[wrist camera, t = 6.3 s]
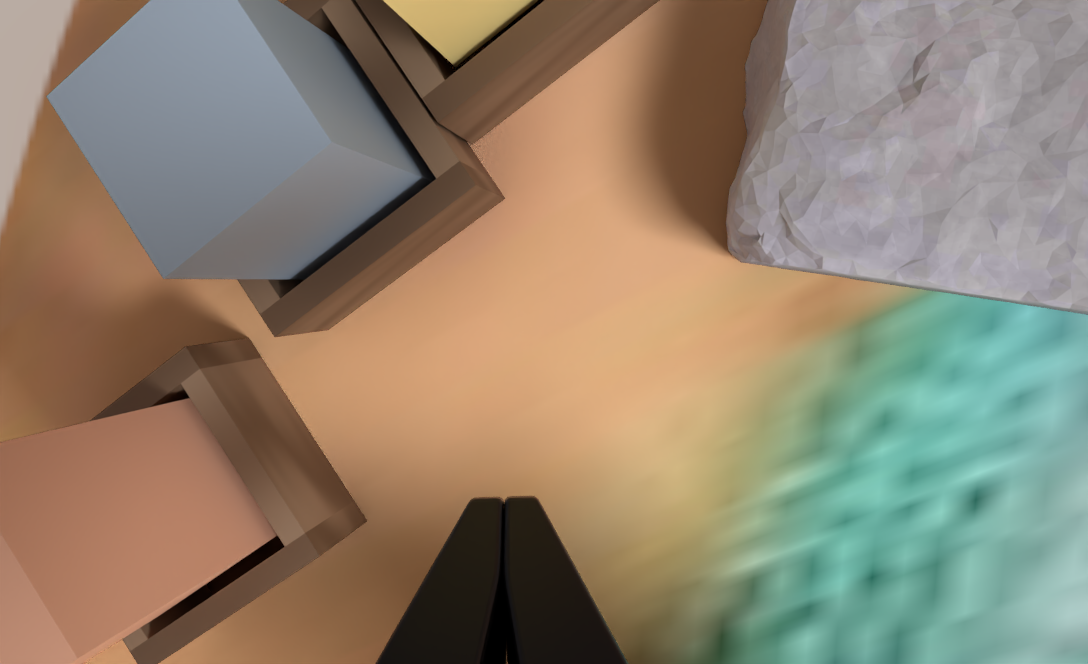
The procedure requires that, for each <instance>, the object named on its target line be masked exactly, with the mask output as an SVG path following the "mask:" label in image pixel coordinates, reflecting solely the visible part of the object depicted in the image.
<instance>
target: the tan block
mask: <svg viewBox="0 0 1088 664" xmlns="http://www.w3.org/2000/svg"><path fill="white" fill-rule="evenodd" d="M276 536H277V534H276V532H275V530H274V529H273V527H272V526H271V524H270V523H269V521H268V519H267V518H266V516H265V515H264V513H263V512H262V510H261V508H260V507H259V505H258V504H257V502H256V501H255V499H254V498H253V496H252V494H251V493H250V491H249V490H248V488H247V487H246V485H245V483H244V482H243V480H242V479H241V477H240V476H239V474H238V472H237V471H236V469H235V468H234V466H233V465H232V463H231V461H230V460H229V458H228V457H227V455H226V454H225V452H224V450H223V449H222V447H221V446H220V444H219V443H218V441H217V439H216V438H215V436H214V435H213V433H212V432H211V430H210V428H209V427H208V425H207V424H206V422H205V421H204V419H203V418H202V416H201V414H200V413H199V411H198V410H197V408H196V407H195V405H194V403H193V402H192V400H191V399H190V398H188V399H183V400H179V401H175V402H171V403H166V404H162V405H158V406H153V407H149V408H145V409H141V410H136V411H132V412H128V413H123V414H119V415H115V416H111V417H106V418H102V419H98V420H93V421H89V422H85V423H81V424H76V425H72V426H68V427H63V428H59V429H55V430H51V431H46V432H42V433H38V434H33V435H29V436H25V437H21V438H16V439H12V440H8V441H3V442H0V664H83V663H85V662H87V661H88V660H90V659H91V658H93V657H95V656H96V655H98V654H99V653H101V652H102V651H104V650H106V649H107V648H109V647H110V646H112V645H114V644H115V643H117V642H118V641H120V640H122V639H123V638H125V637H126V636H128V635H129V634H131V633H133V632H134V631H136V630H137V629H139V628H141V627H142V626H144V625H145V624H147V623H148V622H150V621H152V620H153V619H155V618H156V617H158V616H160V615H161V614H163V613H164V612H166V611H167V610H169V609H170V608H172V607H173V606H175V605H176V604H178V603H179V602H180V601H182V600H183V599H185V598H186V597H188V596H189V595H191V594H192V593H194V592H195V591H197V590H198V589H200V588H201V587H202V586H204V585H205V584H207V583H208V582H210V581H211V580H213V579H214V578H216V577H217V576H219V575H220V574H222V573H223V572H224V571H226V570H227V569H229V568H230V567H232V566H233V565H235V564H236V563H238V562H239V561H241V560H242V559H244V558H245V557H247V556H248V555H249V554H251V553H252V552H254V551H255V550H257V549H258V548H260V547H261V546H263V545H264V544H266V543H267V542H269V541H270V540H271V539H273V538H274V537H276Z"/></svg>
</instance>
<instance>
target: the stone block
mask: <svg viewBox="0 0 1088 664" xmlns="http://www.w3.org/2000/svg"><path fill="white" fill-rule="evenodd" d="M745 71H746V81H745V83H746V106H745V108H744V110H743V116H744V120H745V125H746V129H747V138H746V143H745V146H744V150H743V153H742V156H741V159H740V164H739V167H738V169H737V174H736V177H735V179H734V181H733V183H732V185H731V187H730V190H729V197H728V206H727V219H726V228H727V235H728V241H727V244H728V250H729V252H730V253H731V254H732V255H733V256H734V257H735V258H737V259H738V260H739V261H740V262H743V263H750V264H757V265H764V266H770V267H776V268H783V269H789V270H796V271H803V272H810V273H817V274H825V275H832V276H839V277H845V278H850V279H856V280H863V281H870V282H877V283H884V284H890V285H897V286H904V287H910V288H917V289H924V290H931V291H938V292H945V293H952V294H958V295H964V296H970V297H977V298H983V299H990V300H997V301H1004V302H1010V303H1017V304H1023V305H1029V306H1036V307H1043V308H1049V309H1054V310H1061V311H1068V312H1074V313H1080V314H1086V315H1088V0H768V2H767V4H766V8H765V11H764V15H763V19H762V22H761V25H760V28H759V30H758V32H757V34H756V36H755V37H754V39H753V40H752V41H751V46H750V52H749V56H748V58H747V61H746V63H745Z"/></svg>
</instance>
